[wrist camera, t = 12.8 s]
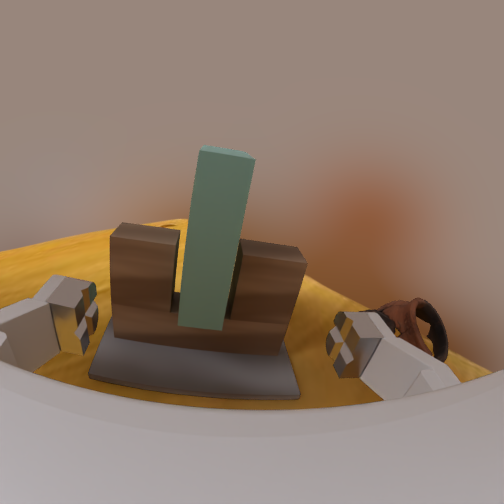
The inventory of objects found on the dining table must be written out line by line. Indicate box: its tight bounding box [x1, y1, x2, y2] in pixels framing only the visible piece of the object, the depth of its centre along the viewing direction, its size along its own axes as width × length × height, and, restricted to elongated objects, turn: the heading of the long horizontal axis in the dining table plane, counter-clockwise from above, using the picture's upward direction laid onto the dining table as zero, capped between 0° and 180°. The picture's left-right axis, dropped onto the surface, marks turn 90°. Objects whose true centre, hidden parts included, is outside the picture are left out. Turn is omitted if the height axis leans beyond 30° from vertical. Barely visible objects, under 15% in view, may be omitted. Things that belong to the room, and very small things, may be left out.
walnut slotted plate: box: [88, 223, 308, 400], centre depth 23 cm, size 12×16×10 cm
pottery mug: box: [359, 298, 448, 362], centre depth 25 cm, size 12×10×8 cm
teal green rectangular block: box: [178, 145, 255, 331], centre depth 21 cm, size 6×3×12 cm, turn 7°
